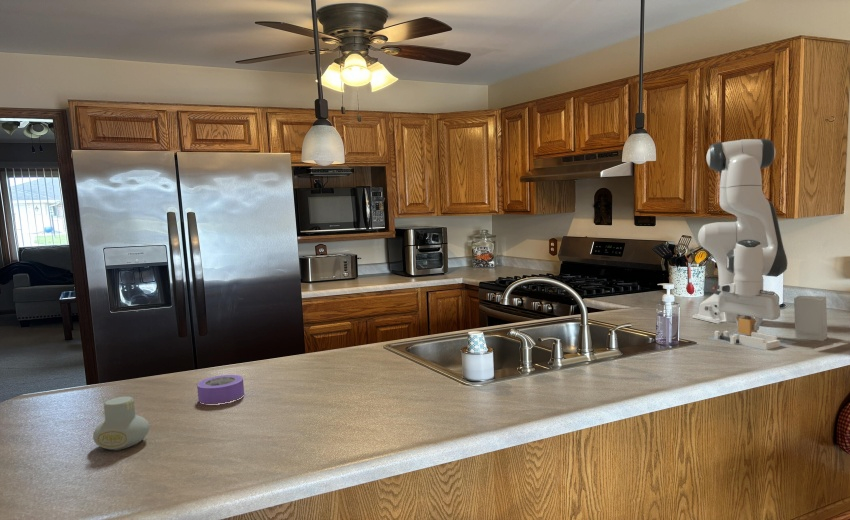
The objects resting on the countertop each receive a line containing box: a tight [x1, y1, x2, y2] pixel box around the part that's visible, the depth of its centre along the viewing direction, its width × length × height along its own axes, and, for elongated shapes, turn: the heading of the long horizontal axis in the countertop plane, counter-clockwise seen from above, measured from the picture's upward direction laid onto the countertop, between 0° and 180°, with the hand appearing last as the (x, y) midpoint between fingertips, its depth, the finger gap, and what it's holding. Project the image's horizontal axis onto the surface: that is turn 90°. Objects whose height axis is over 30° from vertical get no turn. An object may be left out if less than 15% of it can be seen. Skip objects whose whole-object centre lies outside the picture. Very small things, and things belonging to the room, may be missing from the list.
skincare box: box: [793, 295, 828, 342], centre depth 193 cm, size 8×6×15 cm
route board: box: [706, 330, 798, 351], centre depth 193 cm, size 20×18×4 cm
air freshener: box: [92, 396, 150, 451], centre depth 127 cm, size 11×8×10 cm
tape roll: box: [196, 374, 245, 404], centre depth 157 cm, size 12×12×5 cm
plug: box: [737, 316, 758, 335], centre depth 198 cm, size 4×4×6 cm
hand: (747, 328), depth 198 cm, fingers closed on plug, 4 cm apart
